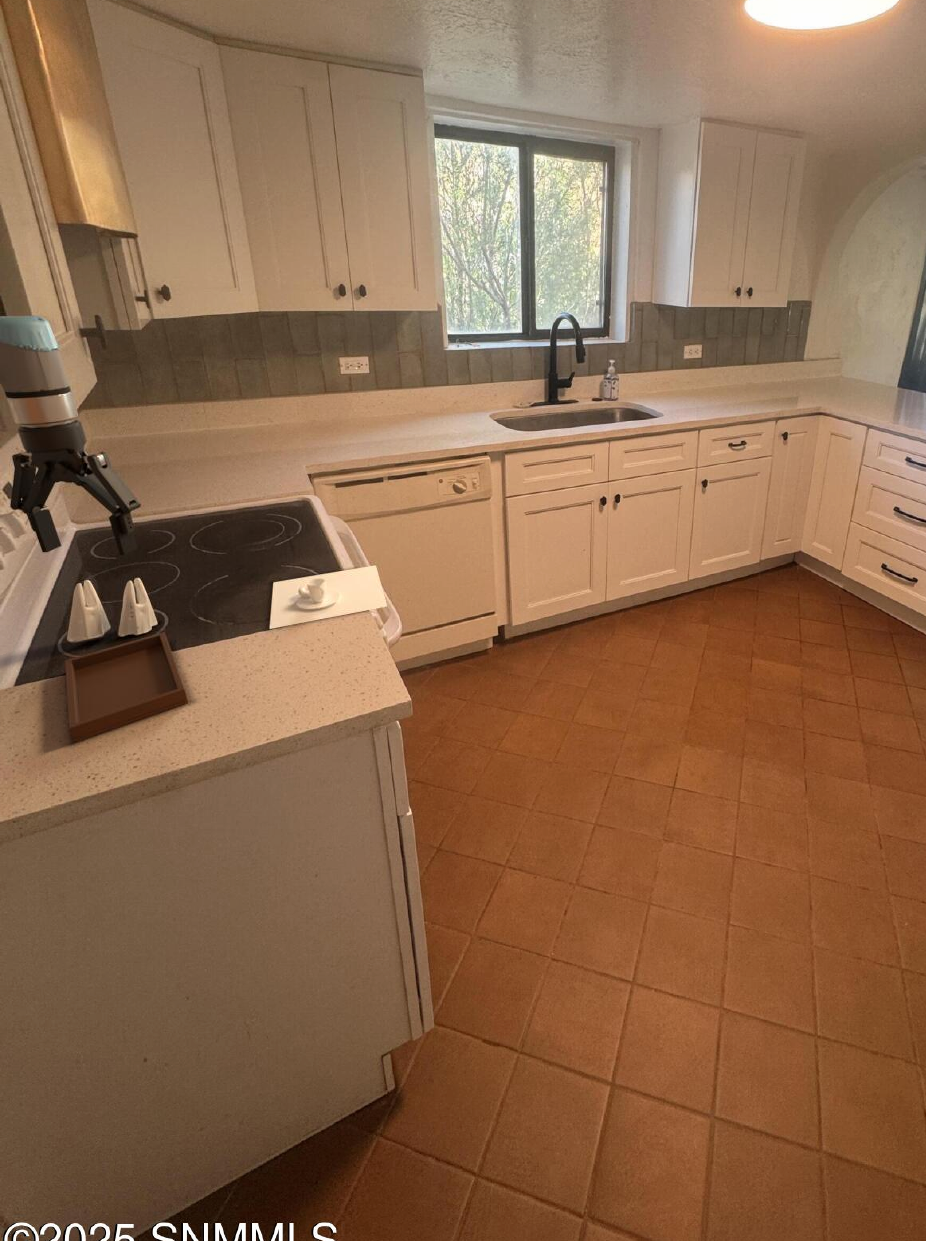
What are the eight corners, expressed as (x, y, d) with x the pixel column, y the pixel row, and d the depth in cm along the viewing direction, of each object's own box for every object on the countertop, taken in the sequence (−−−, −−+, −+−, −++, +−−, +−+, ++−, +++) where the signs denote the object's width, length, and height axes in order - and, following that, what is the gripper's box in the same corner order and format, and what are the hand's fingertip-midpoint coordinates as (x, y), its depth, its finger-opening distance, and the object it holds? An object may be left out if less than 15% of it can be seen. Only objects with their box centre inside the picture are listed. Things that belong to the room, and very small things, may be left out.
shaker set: (70, 652, 103) (49, 592, 99) (74, 640, 107) (54, 582, 103) (156, 632, 109) (140, 575, 105) (157, 621, 112) (142, 566, 108)
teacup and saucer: (296, 594, 122) (292, 575, 121) (339, 586, 125) (336, 568, 124) (296, 614, 115) (292, 595, 113) (342, 606, 118) (339, 586, 116)
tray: (69, 673, 98) (64, 660, 97) (167, 644, 106) (164, 631, 105) (74, 742, 83) (69, 728, 82) (188, 702, 91) (184, 689, 90)
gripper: (144, 418, 97) (177, 543, 104) (-2, 416, 99) (41, 539, 107) (104, 428, 90) (143, 562, 97) (-52, 426, 92) (-2, 557, 100)
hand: (90, 550), depth 102 cm, fingers open, 13 cm apart
